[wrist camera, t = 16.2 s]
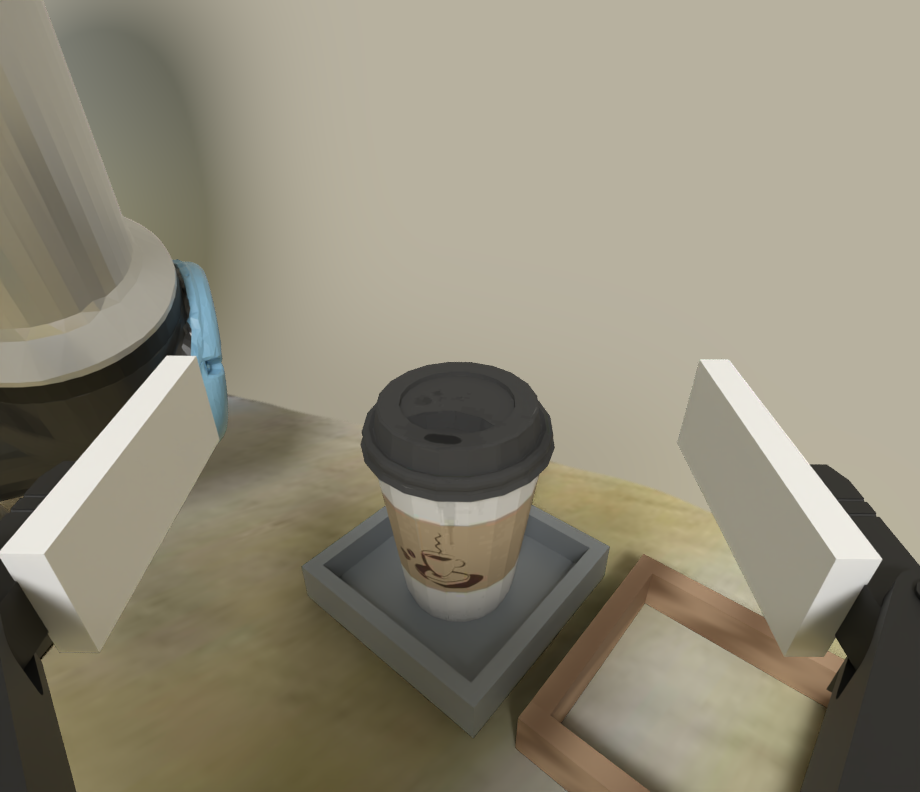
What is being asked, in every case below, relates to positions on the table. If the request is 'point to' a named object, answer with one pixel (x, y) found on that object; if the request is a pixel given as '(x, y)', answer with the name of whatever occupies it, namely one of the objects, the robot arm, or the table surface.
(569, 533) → the tray
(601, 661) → the collar
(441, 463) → the coffee cup
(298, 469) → the table surface
